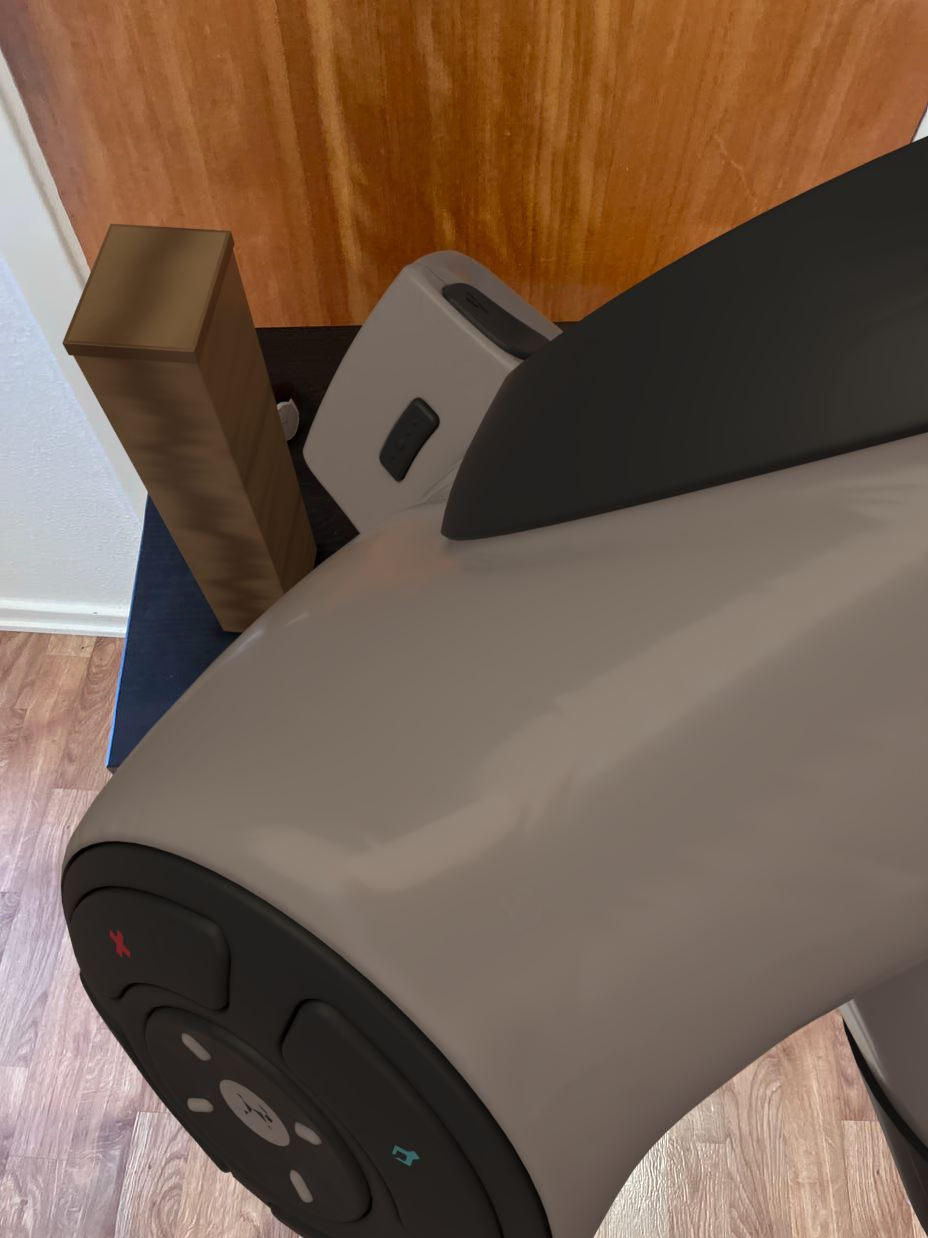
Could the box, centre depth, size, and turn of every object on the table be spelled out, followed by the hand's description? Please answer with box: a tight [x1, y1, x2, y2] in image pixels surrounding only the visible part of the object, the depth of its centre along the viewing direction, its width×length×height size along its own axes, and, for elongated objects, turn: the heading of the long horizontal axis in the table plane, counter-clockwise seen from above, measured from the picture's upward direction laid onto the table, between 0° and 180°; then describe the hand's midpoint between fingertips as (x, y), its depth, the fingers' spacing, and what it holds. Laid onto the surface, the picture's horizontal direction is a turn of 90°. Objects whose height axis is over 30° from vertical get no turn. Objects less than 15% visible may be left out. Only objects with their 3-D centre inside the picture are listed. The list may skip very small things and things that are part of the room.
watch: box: [271, 380, 303, 442], centre depth 74 cm, size 8×5×4 cm, turn 153°
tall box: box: [62, 223, 318, 633], centre depth 55 cm, size 6×8×30 cm
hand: (679, 438), depth 34 cm, fingers open, 8 cm apart
